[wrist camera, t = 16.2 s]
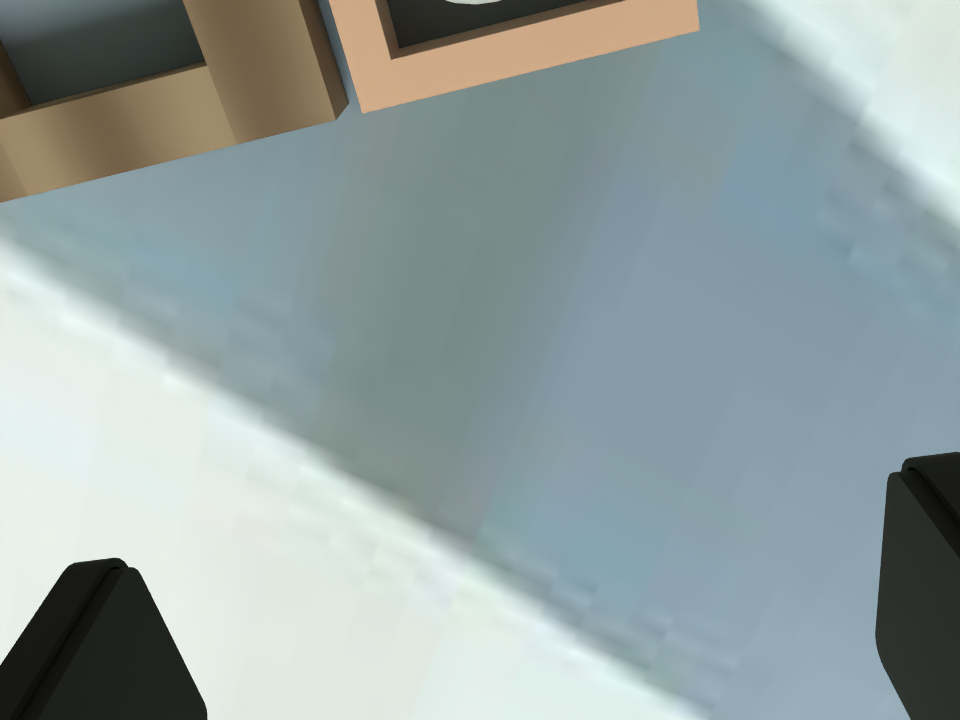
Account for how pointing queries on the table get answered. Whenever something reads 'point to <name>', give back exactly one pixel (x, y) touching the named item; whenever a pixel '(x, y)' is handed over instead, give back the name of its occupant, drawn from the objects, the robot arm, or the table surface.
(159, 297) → the table surface
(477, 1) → the lightbulb
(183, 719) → the robot arm
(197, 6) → the walnut holder
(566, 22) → the terracotta stand
